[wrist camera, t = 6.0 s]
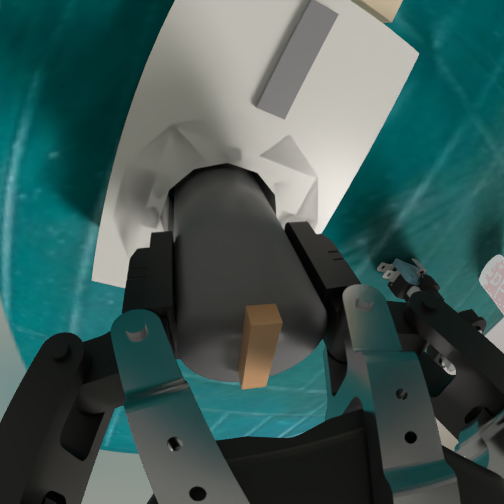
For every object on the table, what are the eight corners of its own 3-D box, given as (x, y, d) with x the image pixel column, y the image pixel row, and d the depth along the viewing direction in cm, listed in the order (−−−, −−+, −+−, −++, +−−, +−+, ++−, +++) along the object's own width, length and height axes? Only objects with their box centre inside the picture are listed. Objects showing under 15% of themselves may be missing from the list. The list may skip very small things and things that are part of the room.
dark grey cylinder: (174, 147, 14) (170, 311, 6) (255, 148, 15) (356, 295, 7) (175, 218, 16) (184, 404, 8) (248, 217, 17) (314, 386, 9)
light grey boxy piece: (204, -34, 10) (213, -67, 6) (368, 47, 14) (423, 54, 10) (106, 231, 17) (90, 284, 14) (253, 266, 21) (271, 318, 18)
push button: (358, 285, 25) (417, 382, 17) (395, 234, 22) (473, 326, 15) (402, 297, 28) (456, 376, 20) (435, 254, 25) (500, 331, 17)
